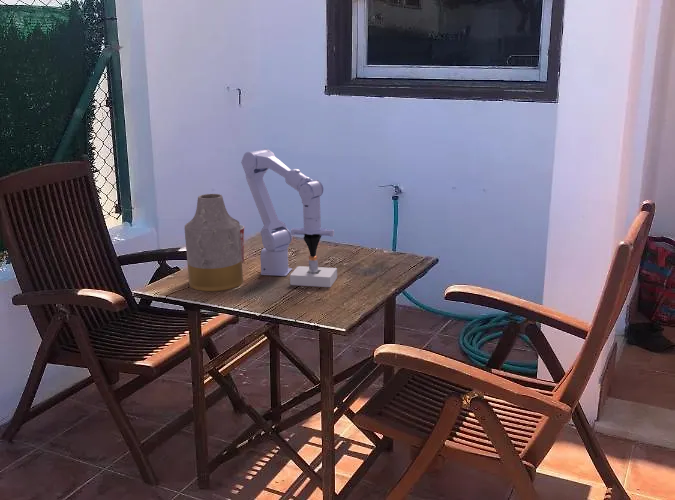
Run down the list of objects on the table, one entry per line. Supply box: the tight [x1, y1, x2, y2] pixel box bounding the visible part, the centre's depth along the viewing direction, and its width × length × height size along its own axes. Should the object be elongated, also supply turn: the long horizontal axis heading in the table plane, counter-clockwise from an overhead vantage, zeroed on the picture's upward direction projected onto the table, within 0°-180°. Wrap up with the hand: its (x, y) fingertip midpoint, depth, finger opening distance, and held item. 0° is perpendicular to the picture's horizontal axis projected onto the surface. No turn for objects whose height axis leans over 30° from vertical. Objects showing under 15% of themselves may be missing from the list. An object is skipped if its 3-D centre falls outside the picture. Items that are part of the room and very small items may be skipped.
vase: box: [184, 193, 244, 293], centre depth 247 cm, size 18×18×30 cm
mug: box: [240, 224, 246, 264], centre depth 272 cm, size 13×9×14 cm
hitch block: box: [289, 265, 338, 288], centre depth 250 cm, size 14×10×4 cm
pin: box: [308, 254, 319, 274], centre depth 249 cm, size 3×3×9 cm
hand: (313, 255), depth 247 cm, fingers closed
